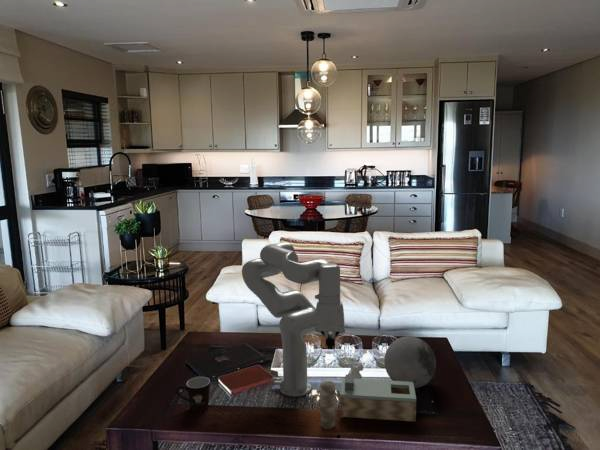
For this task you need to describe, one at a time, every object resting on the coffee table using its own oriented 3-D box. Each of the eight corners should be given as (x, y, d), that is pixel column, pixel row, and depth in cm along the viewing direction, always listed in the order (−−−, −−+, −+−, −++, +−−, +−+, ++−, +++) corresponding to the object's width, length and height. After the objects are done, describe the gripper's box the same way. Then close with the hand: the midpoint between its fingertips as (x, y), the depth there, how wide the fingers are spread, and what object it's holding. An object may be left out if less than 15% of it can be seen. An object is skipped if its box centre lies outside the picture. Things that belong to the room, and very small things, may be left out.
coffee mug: (215, 403, 180) (214, 378, 178) (203, 415, 172) (202, 389, 170) (188, 398, 184) (187, 374, 182) (176, 410, 176) (174, 384, 174)
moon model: (390, 399, 180) (390, 349, 177) (379, 374, 200) (380, 329, 197) (442, 397, 181) (443, 348, 178) (426, 373, 201) (427, 328, 197)
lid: (340, 397, 167) (340, 386, 166) (342, 381, 178) (342, 370, 178) (416, 402, 163) (416, 390, 162) (413, 384, 174) (413, 374, 174)
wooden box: (340, 419, 168) (340, 398, 167) (342, 401, 180) (342, 381, 178) (415, 424, 164) (416, 402, 163) (412, 405, 176) (413, 385, 175)
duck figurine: (353, 399, 185) (371, 378, 183) (338, 387, 185) (355, 366, 183) (354, 384, 197) (371, 364, 194) (340, 372, 197) (356, 353, 195)
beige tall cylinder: (320, 428, 162) (319, 387, 160) (321, 420, 167) (321, 380, 165) (334, 429, 162) (334, 388, 159) (335, 421, 167) (335, 381, 164)
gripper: (307, 301, 165) (308, 351, 168) (350, 302, 163) (350, 353, 166) (309, 294, 172) (310, 342, 175) (351, 295, 170) (351, 344, 173)
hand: (330, 347), depth 170 cm, fingers closed
